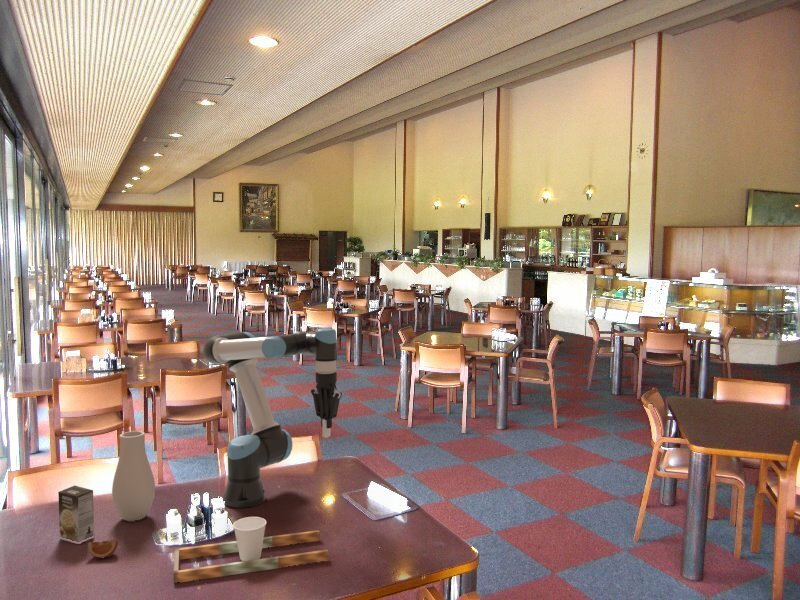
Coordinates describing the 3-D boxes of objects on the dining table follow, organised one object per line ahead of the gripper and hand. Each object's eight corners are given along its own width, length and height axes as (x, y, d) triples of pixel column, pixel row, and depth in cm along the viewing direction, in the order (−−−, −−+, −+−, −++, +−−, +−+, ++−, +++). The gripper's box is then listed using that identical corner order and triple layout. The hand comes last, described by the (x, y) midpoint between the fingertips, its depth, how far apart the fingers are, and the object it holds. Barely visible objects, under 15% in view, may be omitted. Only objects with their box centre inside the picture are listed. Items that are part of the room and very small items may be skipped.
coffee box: (58, 540, 209) (56, 491, 207) (76, 532, 214) (74, 485, 213) (78, 545, 205) (76, 496, 204) (95, 537, 211) (94, 489, 209)
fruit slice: (85, 562, 194) (84, 546, 194) (92, 552, 201) (91, 536, 200) (114, 560, 195) (114, 544, 195) (120, 550, 202) (120, 534, 202)
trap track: (318, 539, 210) (318, 530, 210) (328, 560, 195) (328, 551, 195) (175, 558, 196) (174, 548, 196) (173, 583, 182) (173, 573, 182)
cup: (256, 568, 190) (255, 532, 190) (227, 563, 194) (226, 527, 193) (273, 553, 200) (272, 518, 199) (245, 548, 203) (244, 514, 202)
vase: (104, 522, 222) (101, 437, 219) (134, 508, 235) (131, 426, 232) (135, 529, 217) (132, 441, 214) (164, 514, 229) (162, 430, 227)
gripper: (347, 372, 231) (347, 437, 233) (319, 368, 238) (319, 431, 240) (333, 375, 225) (333, 442, 226) (305, 371, 232) (305, 436, 234)
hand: (326, 436), depth 233 cm, fingers closed
